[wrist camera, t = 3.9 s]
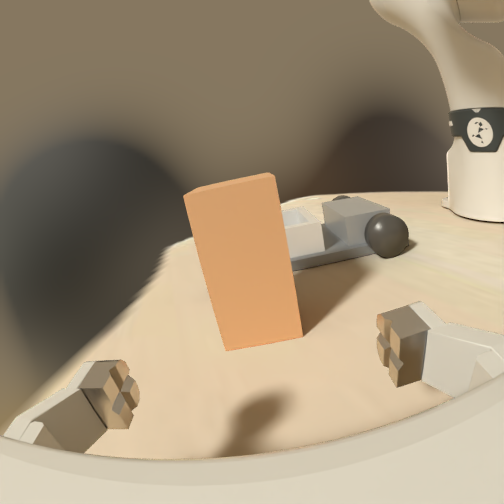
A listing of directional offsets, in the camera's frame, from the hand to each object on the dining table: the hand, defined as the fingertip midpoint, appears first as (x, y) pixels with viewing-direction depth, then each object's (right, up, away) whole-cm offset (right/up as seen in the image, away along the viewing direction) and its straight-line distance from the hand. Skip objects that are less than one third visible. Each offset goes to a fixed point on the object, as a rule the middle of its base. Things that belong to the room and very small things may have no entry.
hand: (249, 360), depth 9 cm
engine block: (+1, -2, +12) cm, 13 cm away
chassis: (+7, +4, +26) cm, 27 cm away
